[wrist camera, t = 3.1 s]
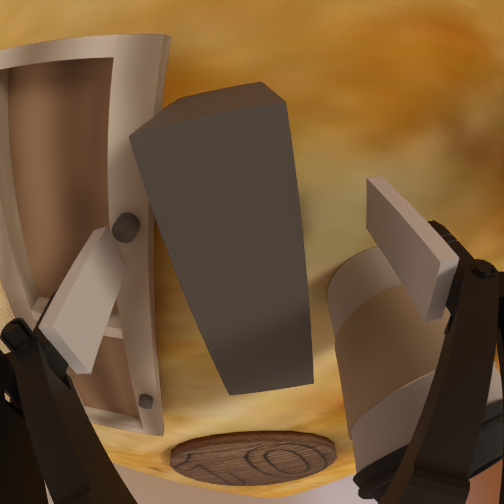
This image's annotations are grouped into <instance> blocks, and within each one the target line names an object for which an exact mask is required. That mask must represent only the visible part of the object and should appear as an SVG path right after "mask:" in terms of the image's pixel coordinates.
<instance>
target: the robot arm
mask: <svg viewBox="0 0 504 504" xmlns="http://www.w3.org/2000/svg"><path fill="white" fill-rule="evenodd" d="M366 228H367V230H368V231H369V233H370V234H371V236H372V237H373V239H374V240H375V242H376V243H377V245H378V246H379V248H380V249H381V251H382V253H383V254H384V256H385V257H386V259H387V260H388V262H389V264H390V265H391V267H392V268H393V270H394V272H395V273H396V275H397V276H398V278H399V280H400V281H401V283H402V285H403V286H404V288H405V290H406V291H407V293H408V295H409V296H410V298H411V300H412V302H413V303H414V305H415V307H416V309H417V310H418V312H419V314H420V316H421V317H422V319H423V321H424V323H428V322H431V321H434V320H438V319H441V318H442V316H443V313H444V310H445V307H447V309H448V310H449V312H450V314H451V315H450V317H449V320H448V323H447V326H446V328H445V331H444V334H445V337H444V341H443V345H442V349H441V353H440V357H439V360H438V364H437V367H436V371H435V374H434V377H433V380H432V384H431V387H430V390H429V393H428V396H427V399H426V402H425V405H424V407H423V410H422V413H421V416H420V418H419V421H418V423H417V426H416V429H415V431H414V433H413V436H412V438H411V441H410V443H409V445H408V448H407V450H406V452H405V455H404V457H403V459H402V461H401V463H400V465H399V468H398V470H397V472H396V474H395V476H394V478H393V480H392V482H391V484H390V486H389V487H388V489H387V491H386V492H385V494H384V495H383V496H382V498H381V500H380V501H379V503H378V504H465V502H466V500H467V497H468V494H469V490H470V482H469V480H468V472H469V468H470V465H471V462H472V459H473V456H474V452H475V449H476V446H477V442H478V438H479V435H480V431H481V427H482V423H483V419H484V414H485V410H486V405H487V400H488V395H489V389H490V384H491V378H492V371H493V364H494V356H495V347H496V343H497V349H498V357H499V365H500V374H501V384H502V398H503V422H504V272H498V271H497V269H496V268H495V267H494V266H493V265H492V264H491V263H489V262H487V261H484V260H480V259H474V258H473V257H472V256H471V255H470V254H469V253H468V251H467V250H466V249H465V248H464V247H463V246H462V245H461V244H460V243H459V242H458V241H456V238H455V237H454V236H453V235H451V233H450V232H449V231H448V230H447V229H446V228H445V227H444V226H443V225H441V224H439V223H438V222H436V221H434V220H433V221H428V222H427V221H426V220H425V219H424V218H423V217H422V216H421V215H420V214H419V213H418V212H417V211H416V210H415V208H414V207H413V206H412V205H411V204H410V203H409V202H408V201H407V200H406V199H405V198H404V197H403V196H402V195H401V194H400V193H398V192H397V191H396V190H395V189H394V188H393V187H392V186H391V185H390V184H389V183H388V182H387V181H386V180H385V179H384V178H383V177H382V176H377V177H369V178H367V223H366ZM126 271H127V270H126V268H125V266H124V264H123V262H122V259H121V257H120V255H119V253H118V251H117V249H116V246H115V244H114V242H113V240H112V237H111V235H110V233H109V231H108V228H107V227H104V228H100V229H96V230H94V231H93V233H92V234H91V236H90V237H89V239H88V240H87V242H86V244H85V245H84V247H83V248H82V250H81V252H80V253H79V255H78V256H77V258H76V260H75V261H74V263H73V265H72V266H71V268H70V270H69V271H68V273H67V275H66V277H65V278H64V280H63V282H62V284H61V285H60V287H59V288H58V289H57V290H56V291H55V292H54V293H53V294H52V296H51V297H50V299H49V301H48V303H47V305H46V307H45V309H44V310H43V311H44V312H42V314H41V316H40V318H39V320H38V322H37V324H36V326H35V328H34V330H33V331H32V330H31V329H30V327H29V326H28V325H27V323H26V322H25V321H24V319H23V318H15V319H13V320H12V321H10V322H9V323H8V324H7V325H6V326H5V327H4V328H3V330H2V332H1V335H0V339H1V340H2V341H3V343H4V344H5V345H6V346H7V347H8V349H9V350H10V351H11V352H9V353H6V354H4V353H3V352H2V351H1V350H0V504H48V499H47V494H46V488H45V483H46V485H47V488H48V490H49V493H50V495H51V498H52V500H53V502H54V504H137V502H136V500H135V499H134V497H133V496H132V494H131V493H130V491H129V490H128V488H127V487H126V485H125V484H124V482H123V480H122V479H121V477H120V475H119V474H118V472H117V470H116V469H115V467H114V465H113V464H112V462H111V460H110V458H109V457H108V455H107V453H106V451H105V449H104V447H103V446H102V444H101V442H100V440H99V438H98V436H97V434H96V432H95V430H94V428H93V426H92V424H91V422H90V420H89V418H88V416H87V414H86V412H85V409H84V407H83V405H82V403H81V401H80V398H79V396H78V394H77V391H76V389H75V387H74V384H73V382H72V379H71V377H70V376H69V374H68V373H67V372H66V371H67V368H68V365H69V366H70V367H71V368H72V369H73V370H74V372H75V373H76V374H91V372H92V368H93V365H94V362H95V359H96V355H97V352H98V349H99V346H100V343H101V340H102V337H103V334H104V331H105V328H106V325H107V322H108V319H109V317H110V314H111V311H112V308H113V305H114V303H115V300H116V297H117V295H118V292H119V289H120V287H121V284H122V282H123V279H124V276H125V274H126ZM4 392H5V393H6V394H7V395H8V396H9V397H10V403H9V402H8V401H7V400H6V399H5V395H4ZM44 480H45V482H44ZM499 504H504V443H503V468H502V481H501V490H500V498H499Z"/></svg>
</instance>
